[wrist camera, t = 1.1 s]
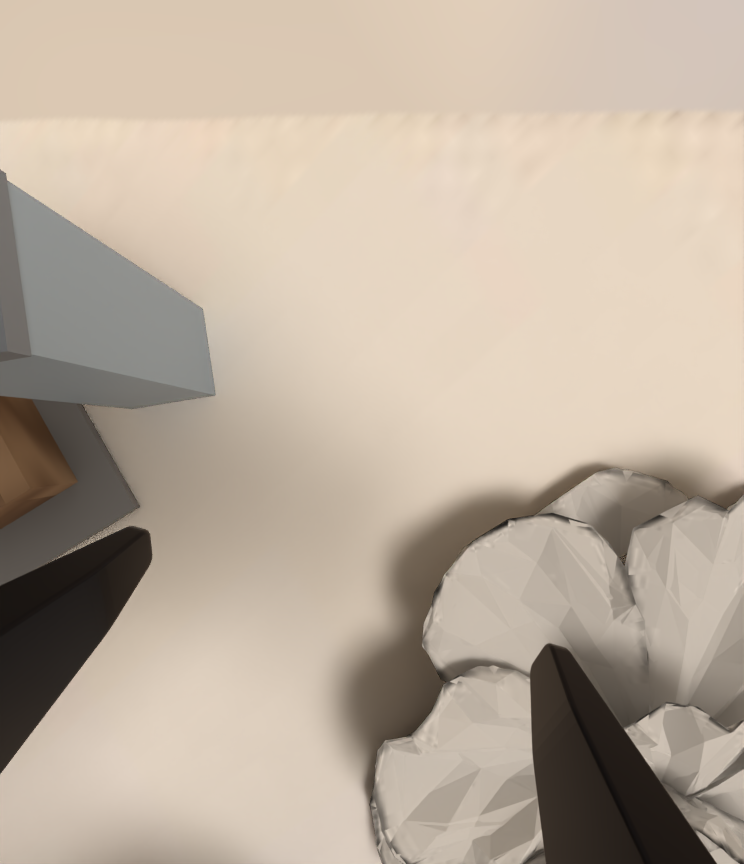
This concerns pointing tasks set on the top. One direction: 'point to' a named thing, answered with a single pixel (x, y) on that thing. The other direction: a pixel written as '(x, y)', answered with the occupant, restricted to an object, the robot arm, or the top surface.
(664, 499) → the decorative wall flower
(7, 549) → the mat
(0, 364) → the tin
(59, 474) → the brown square open frame
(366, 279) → the top surface
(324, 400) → the top surface
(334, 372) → the top surface
